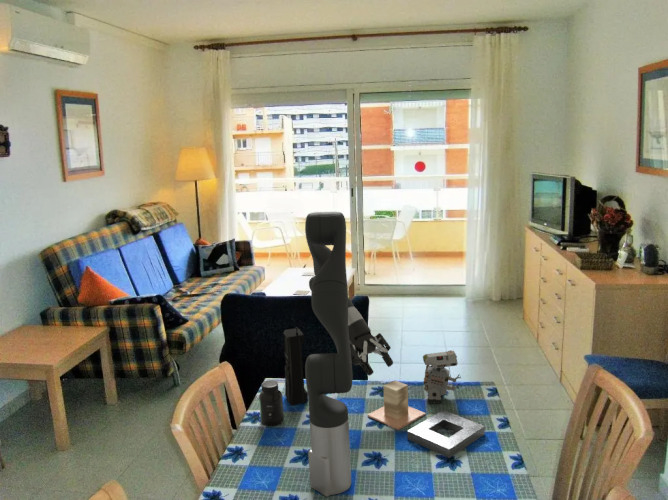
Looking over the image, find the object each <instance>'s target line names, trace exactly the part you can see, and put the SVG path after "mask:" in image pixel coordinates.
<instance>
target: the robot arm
mask: <svg viewBox="0 0 668 500" xmlns="http://www.w3.org/2000/svg"><path fill="white" fill-rule="evenodd" d="M304 224H305V225H304V228H305V229H304V231H305V239H306V243H307V246H308V250H309V253H310V255H311V259H312V261H313V262H312V263H313V273H314V274H313V276H312V277H310V278H309V280H308V287H309V289H310V292H311V296H310V297H311V301H310V302H311V309H312V311H313V313H314V315H315V317H316V318H317V319H318V321H319V322H320V324H321V325H322V326H323V327H324V329H326V331H327V333H328V334H329V336H330V337H331V339H332V341H333V343H334V345H335V348H336V351H337V352H336V353H335V352H334V353H333V352H331V353H313V354H309V355H308V356H307V357H306V361H305V365H304V371H305V381H306V391H307V393H308V401H307V402H308V411H309V412H308V417H309V418H308V419H309V432H310V433H309V435H310V449H309V450H308V451H307V453H308V455H307V456H308V457H307V458H308V470H309V484H310V485H309V486H310V488H312V489H314V490H316V492H319V494H322V495H323V496H325V497H329V496H333V495H339V494H342V493H344V492H346V491H348V490H349V489H350V487H351V485H352V470H351V466H352V465H351V446H350V444H351V443H350V427H349V426H350V425H349V423H350V421H349V409H348V406H347V405H346V403H344V402H343V401H341V400H339V399H336V398H332V397H330V396H328V394H329V395H333V394H334V395H335V394H346V393H349V392H350V391H351V389H352V386H353V378H354V377H353V366H355V367H356V366H360V367H361V368H362V370H363V371H364V373H365V374H366V375H368V376H372V375H373V374H374V370H373V368H372V367H371V365H370V363H369V362H368V361H367V356H368V355H369V354H372V353H374V354H376V355H379V356H381V358H382V360H383V362H384V363H385V365H386V366H387V367H388V368H389V367H392V366H393V364H394V361H393V359H392V357H391V356H390V354H389V353H388V352H389V351H390V350H391V345H389V343H388V342H387V340H386V339H385V338H384V336H383V335H382V333H380V332H378V333H377V334H376V335H375V336H374V335H373V334H372V331H371V327H369V325H368V323H367V322H366V320H365V319H364V318H363V316H362V314H361V313H360V311H358V309H357V308H356V307H355V306H354V303H353V302H352V301H351V299H350V297H349V290H348V280H347V279H348V276H347V266H346V265H347V264H346V263H347V262H346V261H347V260H346V255H347V251H346V250H347V249H346V247H347V242H346V241H347V222H346V218H345V215H344V214H343V213H342V212H341V211H315V212H314V211H313V212H310V213H308V214H307V215H306V217H305V222H304ZM328 246H333V247H332V250H331V249H330V248H329V247H328Z"/></svg>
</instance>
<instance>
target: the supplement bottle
mask: <svg viewBox="0 0 668 500" xmlns="http://www.w3.org/2000/svg"><path fill="white" fill-rule="evenodd" d="M260 387H261V391H260V393H259V395H258V402H259V403H258V404H259V415H260V416H259V417H260V422H261V424H262V425H263V426H264V427H269V428H271V427H276V426H279V425H281V424H283V422H284V420H285V415H284V399H283V393H282V391H281V390H279V383H278V381H276V380H266V381H263V382H262V383H261V386H260Z"/></svg>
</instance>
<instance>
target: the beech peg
mask: <svg viewBox="0 0 668 500" xmlns="http://www.w3.org/2000/svg"><path fill="white" fill-rule="evenodd" d="M408 388H409V385H408V384H405V383H403V382H401V381H398V380H392V381H390V382H388V383H386V384H385V385H383V406H384V414H385V415H388V416H390V417H392V418H395V419H399V418H401V417H403V416H405V415H406V414H408V406H409V389H408Z"/></svg>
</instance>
